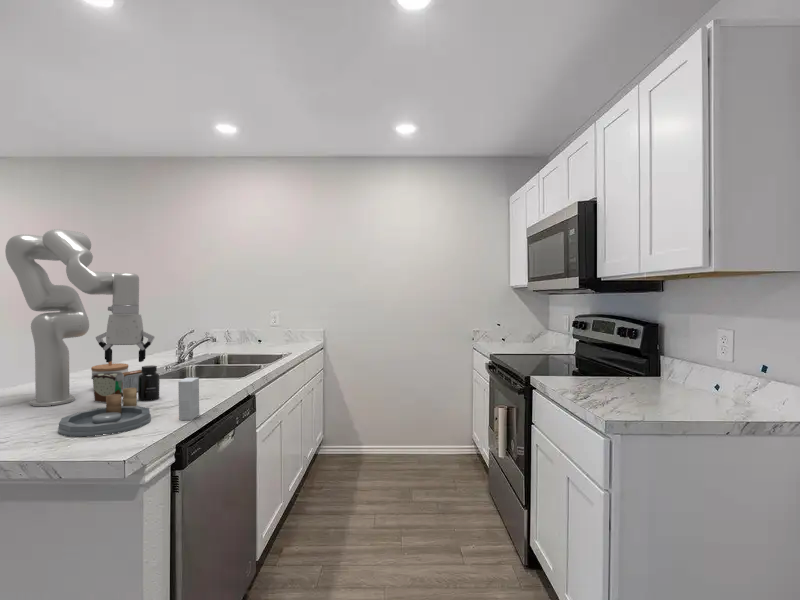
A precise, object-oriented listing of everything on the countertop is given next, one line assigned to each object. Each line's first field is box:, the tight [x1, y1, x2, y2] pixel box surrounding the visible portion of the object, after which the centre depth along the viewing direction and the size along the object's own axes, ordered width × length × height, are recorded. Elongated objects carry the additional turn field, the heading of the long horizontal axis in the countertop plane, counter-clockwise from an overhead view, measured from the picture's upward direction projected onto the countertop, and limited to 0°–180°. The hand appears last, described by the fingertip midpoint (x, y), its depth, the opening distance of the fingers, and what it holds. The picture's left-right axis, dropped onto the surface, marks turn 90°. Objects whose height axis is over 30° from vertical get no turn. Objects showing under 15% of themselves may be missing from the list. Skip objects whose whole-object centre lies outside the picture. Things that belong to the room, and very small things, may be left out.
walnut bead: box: [105, 394, 122, 413], centre depth 139 cm, size 4×4×6 cm
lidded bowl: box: [90, 360, 129, 374], centre depth 183 cm, size 13×13×11 cm
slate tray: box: [57, 405, 152, 438], centre depth 133 cm, size 23×23×3 cm
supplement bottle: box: [137, 364, 161, 402], centre depth 165 cm, size 7×7×12 cm
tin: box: [121, 369, 142, 396], centre depth 175 cm, size 15×3×8 cm, turn 159°
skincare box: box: [178, 377, 200, 421], centre depth 141 cm, size 6×4×12 cm
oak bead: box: [122, 388, 138, 406], centre depth 154 cm, size 4×4×6 cm
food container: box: [91, 372, 124, 403], centre depth 162 cm, size 12×6×10 cm, turn 71°
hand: (125, 361), depth 151 cm, fingers open, 9 cm apart
